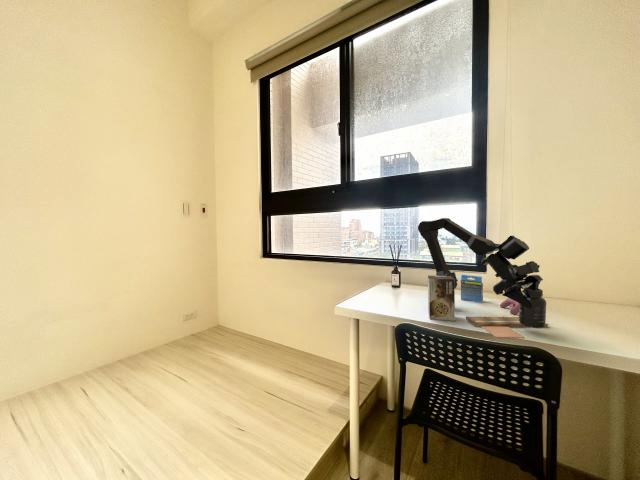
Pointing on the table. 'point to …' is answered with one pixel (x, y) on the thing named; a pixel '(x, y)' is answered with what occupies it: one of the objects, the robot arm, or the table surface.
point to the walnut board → (495, 321)
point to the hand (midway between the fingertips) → (537, 306)
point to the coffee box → (441, 298)
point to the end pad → (502, 332)
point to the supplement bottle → (533, 309)
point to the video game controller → (511, 305)
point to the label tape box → (471, 288)
